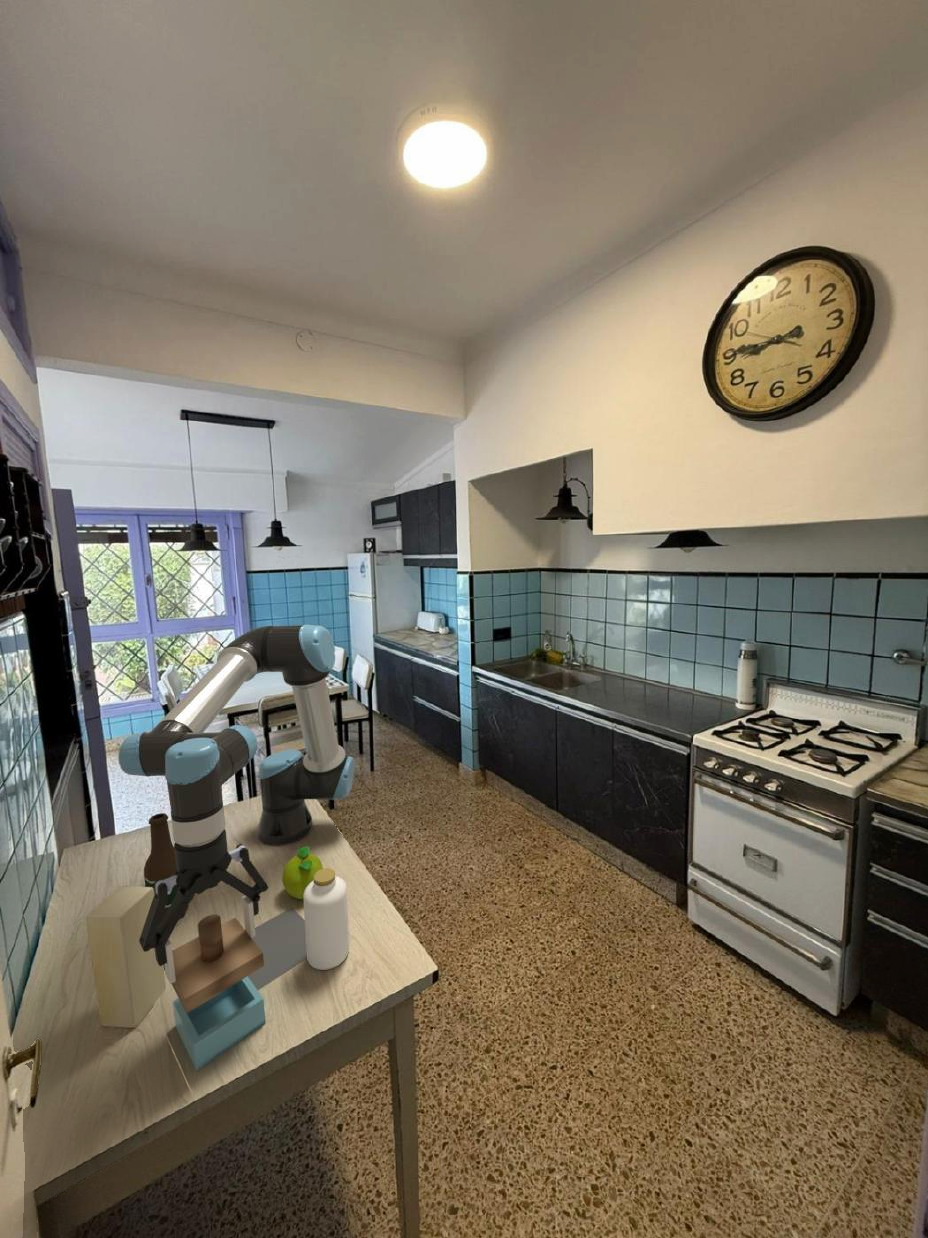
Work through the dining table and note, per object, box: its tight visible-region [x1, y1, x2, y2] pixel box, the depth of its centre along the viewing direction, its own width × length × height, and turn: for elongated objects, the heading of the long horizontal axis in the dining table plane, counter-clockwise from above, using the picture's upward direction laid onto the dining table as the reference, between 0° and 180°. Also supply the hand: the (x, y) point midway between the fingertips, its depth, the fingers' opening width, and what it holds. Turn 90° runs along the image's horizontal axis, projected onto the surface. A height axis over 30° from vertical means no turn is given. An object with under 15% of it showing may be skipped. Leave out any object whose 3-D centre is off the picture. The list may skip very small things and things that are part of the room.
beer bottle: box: [143, 812, 190, 925], centre depth 111 cm, size 8×8×24 cm
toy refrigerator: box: [85, 885, 167, 1029], centre depth 88 cm, size 8×7×21 cm
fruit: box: [281, 846, 324, 900], centre depth 118 cm, size 9×9×10 cm
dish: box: [172, 976, 267, 1072], centre depth 85 cm, size 11×11×5 cm
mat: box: [248, 907, 307, 991], centre depth 102 cm, size 16×16×1 cm
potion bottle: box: [303, 867, 350, 971], centre depth 98 cm, size 8×8×18 cm
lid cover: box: [163, 914, 264, 1013], centre depth 83 cm, size 12×12×8 cm
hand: (212, 954), depth 84 cm, fingers closed on lid cover, 12 cm apart
